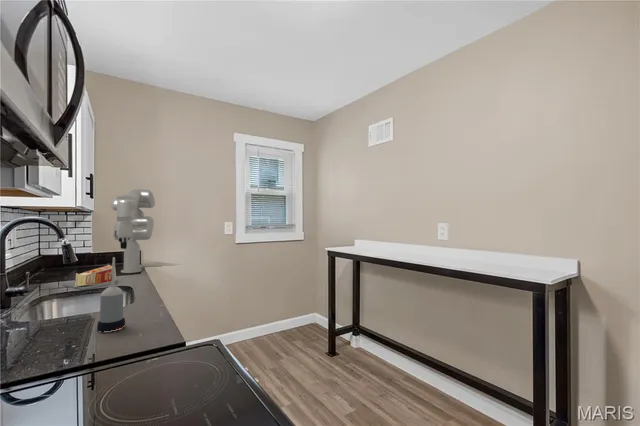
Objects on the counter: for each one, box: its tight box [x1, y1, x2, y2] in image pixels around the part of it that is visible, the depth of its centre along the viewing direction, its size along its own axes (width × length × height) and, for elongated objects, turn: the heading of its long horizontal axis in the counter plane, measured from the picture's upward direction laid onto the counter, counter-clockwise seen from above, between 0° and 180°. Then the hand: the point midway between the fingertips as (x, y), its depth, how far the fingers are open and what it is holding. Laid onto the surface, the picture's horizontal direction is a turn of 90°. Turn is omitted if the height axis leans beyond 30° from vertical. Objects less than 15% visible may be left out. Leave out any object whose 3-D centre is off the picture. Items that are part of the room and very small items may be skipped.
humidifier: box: [96, 256, 126, 332], centre depth 110 cm, size 8×8×25 cm
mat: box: [62, 281, 118, 291], centre depth 177 cm, size 18×20×1 cm
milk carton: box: [74, 264, 117, 287], centre depth 175 cm, size 9×9×20 cm
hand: (123, 248), depth 197 cm, fingers closed
